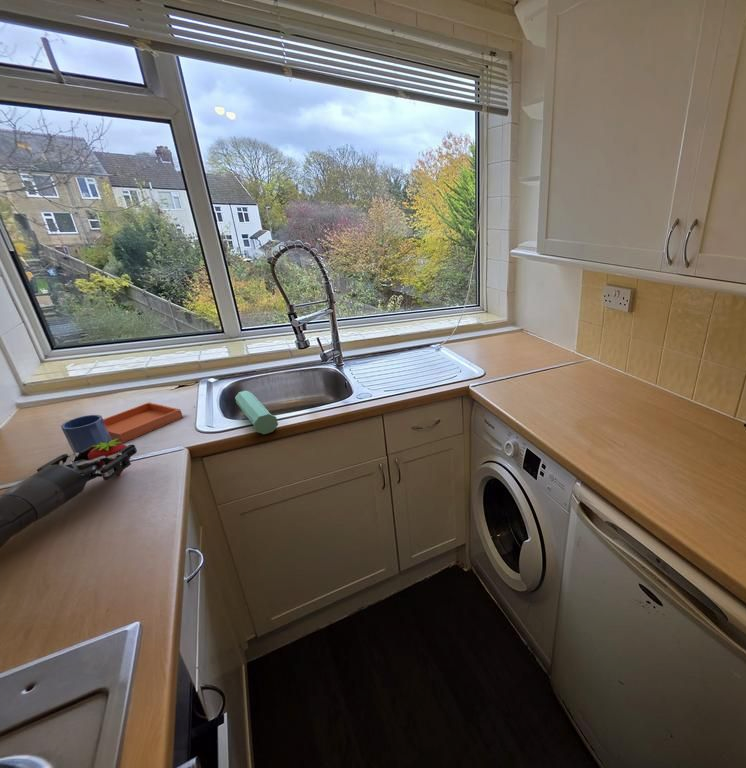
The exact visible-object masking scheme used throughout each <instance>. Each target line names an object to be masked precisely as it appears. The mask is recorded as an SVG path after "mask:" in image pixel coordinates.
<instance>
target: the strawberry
mask: <svg viewBox="0 0 746 768" xmlns="http://www.w3.org/2000/svg"><path fill="white" fill-rule="evenodd" d="M118 439H119V438H118ZM118 439H115V440H112V441H110V442H109V443H107V435H106V443H100V444H98V445H94V446H91V447H96V448H94V449H92V450H91V451H90V452H89V453H88V460H92V459H95V458H98V457H101V456H106V457H107V456H110V455H113V454H116V453H117V452H119V451H120V450H122V449H124V448H125V447H127V446H128V445H126V444H124V443H122V442H118V441H116V440H118ZM113 460H115V458H114V459H112V460H109V463H110V462H112V461H113ZM129 460H131V457H129ZM99 464H100V467H101V468H102V466H104V463H103V461H100V462H99ZM123 472H124V470H122V471H121V472H119V473H118V474H116V475H115V476H120V475H121V474H123ZM115 476H114V477H115Z"/></svg>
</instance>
